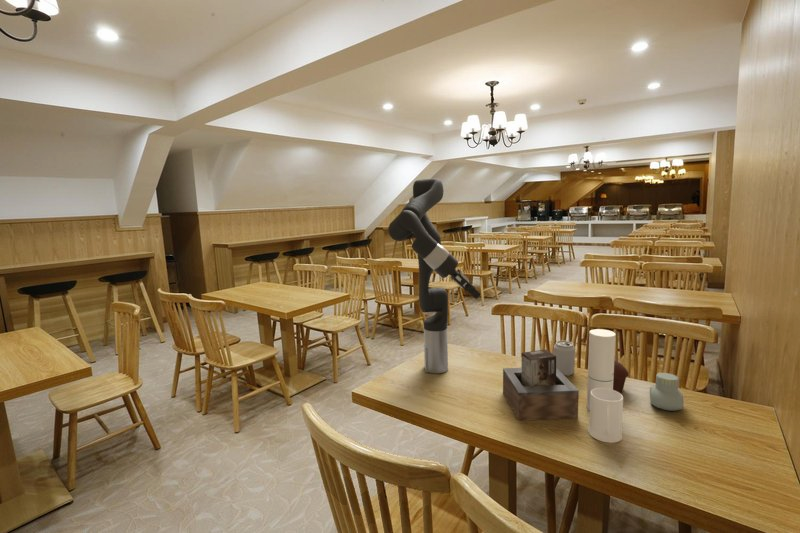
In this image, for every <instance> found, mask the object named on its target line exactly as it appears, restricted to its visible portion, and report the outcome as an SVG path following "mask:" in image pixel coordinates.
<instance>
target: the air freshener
mask: <svg viewBox="0 0 800 533" xmlns="http://www.w3.org/2000/svg"><path fill="white" fill-rule="evenodd" d="M655 377H656V378H655V384H653V385H651V386H650V387H649V402H650V404H651V405H653V406H654V407H656V408H658V409H660V410H663V411H671V412H672V411H673V412H674V411H680V410H682V409H684V406H685V405H684V404H685V403H684V393H683V392H682V391H681V390H680V389H679V380H680V378H679V377H678V376H677V375H675V374H672V373H668V372H659V373H657V374H656V376H655Z"/></svg>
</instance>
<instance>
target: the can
mask: <svg viewBox="0 0 800 533" xmlns="http://www.w3.org/2000/svg"><path fill="white" fill-rule="evenodd" d="M553 355H555V356H556V368H557V369H558V370H559V371H560V372H561V373H562V374H563V375H564V376H565V377H569V376H572V375H573V374H575V362H576V347H575V346H574V343H573V342H571V341H567V340H558V341H556V342H555V344H554V345H553Z"/></svg>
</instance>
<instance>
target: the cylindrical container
mask: <svg viewBox="0 0 800 533" xmlns="http://www.w3.org/2000/svg"><path fill="white" fill-rule="evenodd" d="M588 333H589V334H588V335H589V336H588V337H589V339H588V359H587V361H588V362H587V389H586V390H587V392H586V408H587V410H588V411H589V412H590V396H591V390H593V389H595V388H607V389H612V390H613V377H614V360H615V353H616V352H615V351H616V333H615V332H614V331H612V330H609V329H602V328H596V329H591V330H589V332H588Z"/></svg>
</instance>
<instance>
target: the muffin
mask: <svg viewBox="0 0 800 533" xmlns="http://www.w3.org/2000/svg"><path fill="white" fill-rule="evenodd" d="M629 373H630V372H629V371H628V369H627V368H626V367H625V366H624V365H623V364H622V363H621V362H619V361H618V360H615V359H614V377H613V390H615V391H617V392H619V393H620V394H623V391H624V387H625V383H626V379H627V377H629V376H630V374H629Z"/></svg>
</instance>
